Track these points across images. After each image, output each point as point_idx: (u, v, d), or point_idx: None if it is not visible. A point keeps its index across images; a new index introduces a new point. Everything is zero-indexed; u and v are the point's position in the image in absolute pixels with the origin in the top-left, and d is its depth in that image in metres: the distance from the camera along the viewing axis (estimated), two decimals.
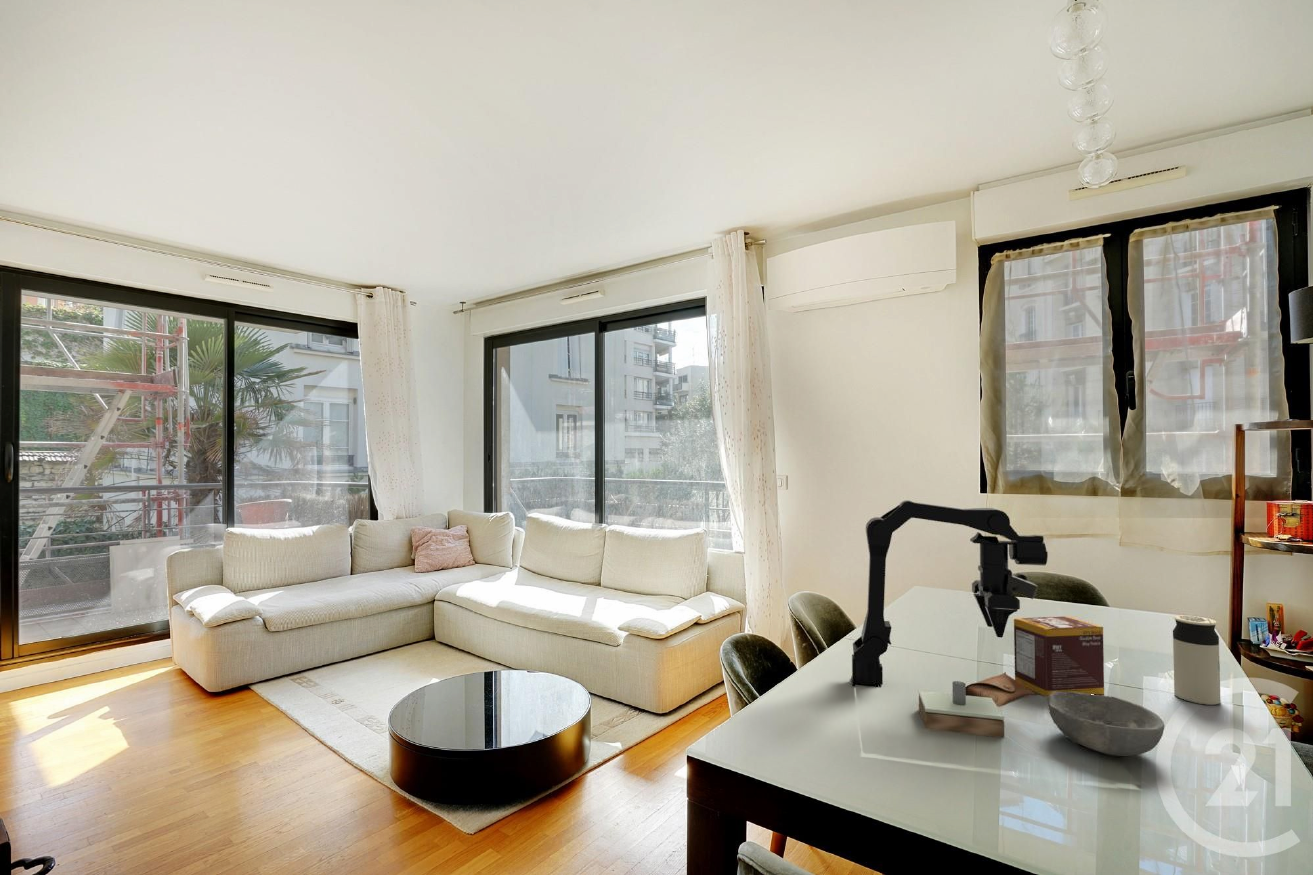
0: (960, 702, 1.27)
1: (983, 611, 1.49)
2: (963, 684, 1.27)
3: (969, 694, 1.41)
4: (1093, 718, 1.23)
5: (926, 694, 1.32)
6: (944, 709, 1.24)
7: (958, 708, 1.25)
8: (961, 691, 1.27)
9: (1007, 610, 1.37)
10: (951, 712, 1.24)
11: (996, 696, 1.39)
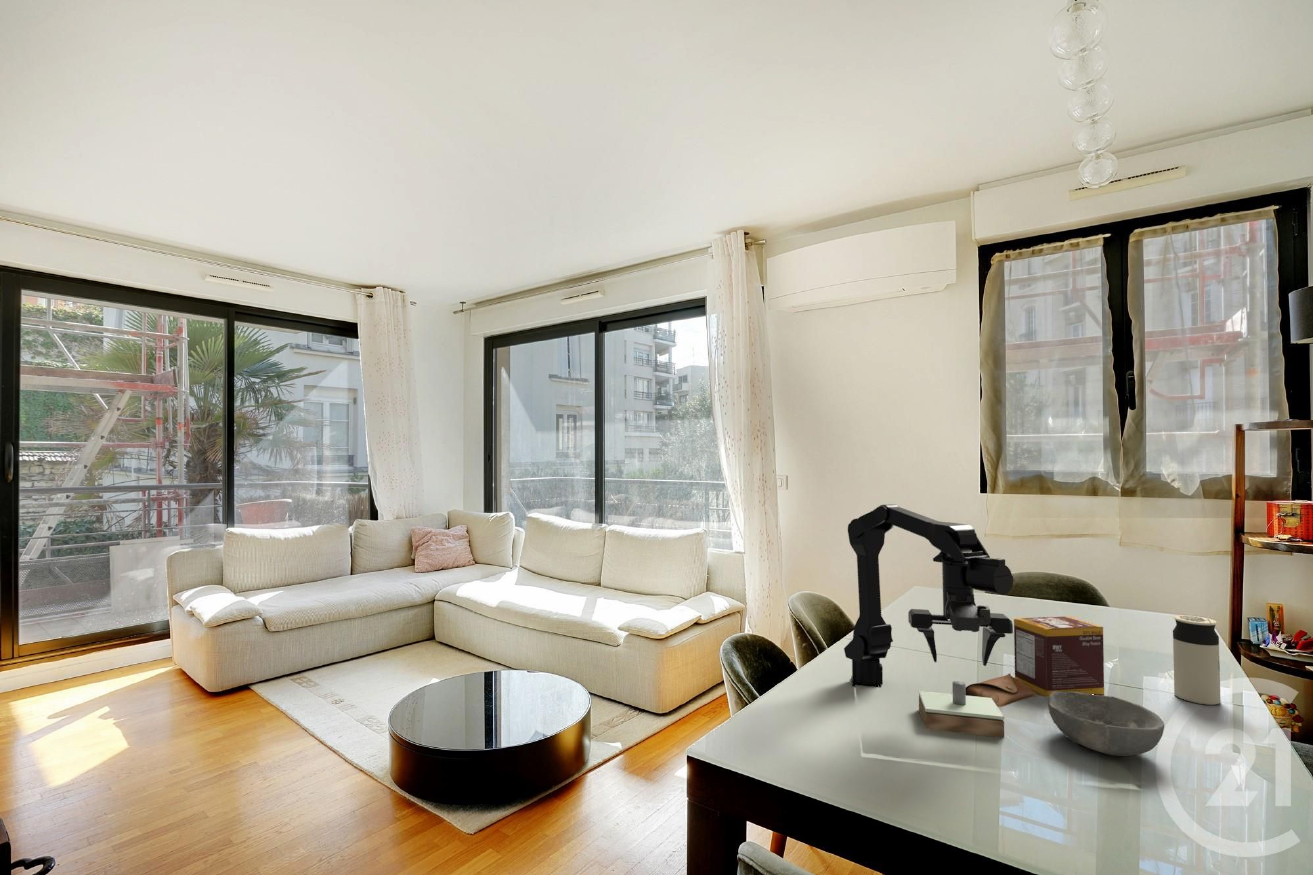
0: (960, 702, 1.27)
1: (982, 646, 1.29)
2: (963, 684, 1.27)
3: (969, 694, 1.41)
4: (1093, 718, 1.23)
5: (926, 694, 1.32)
6: (944, 709, 1.24)
7: (958, 708, 1.25)
8: (961, 691, 1.27)
9: (917, 628, 1.30)
10: (951, 712, 1.24)
11: (997, 696, 1.39)
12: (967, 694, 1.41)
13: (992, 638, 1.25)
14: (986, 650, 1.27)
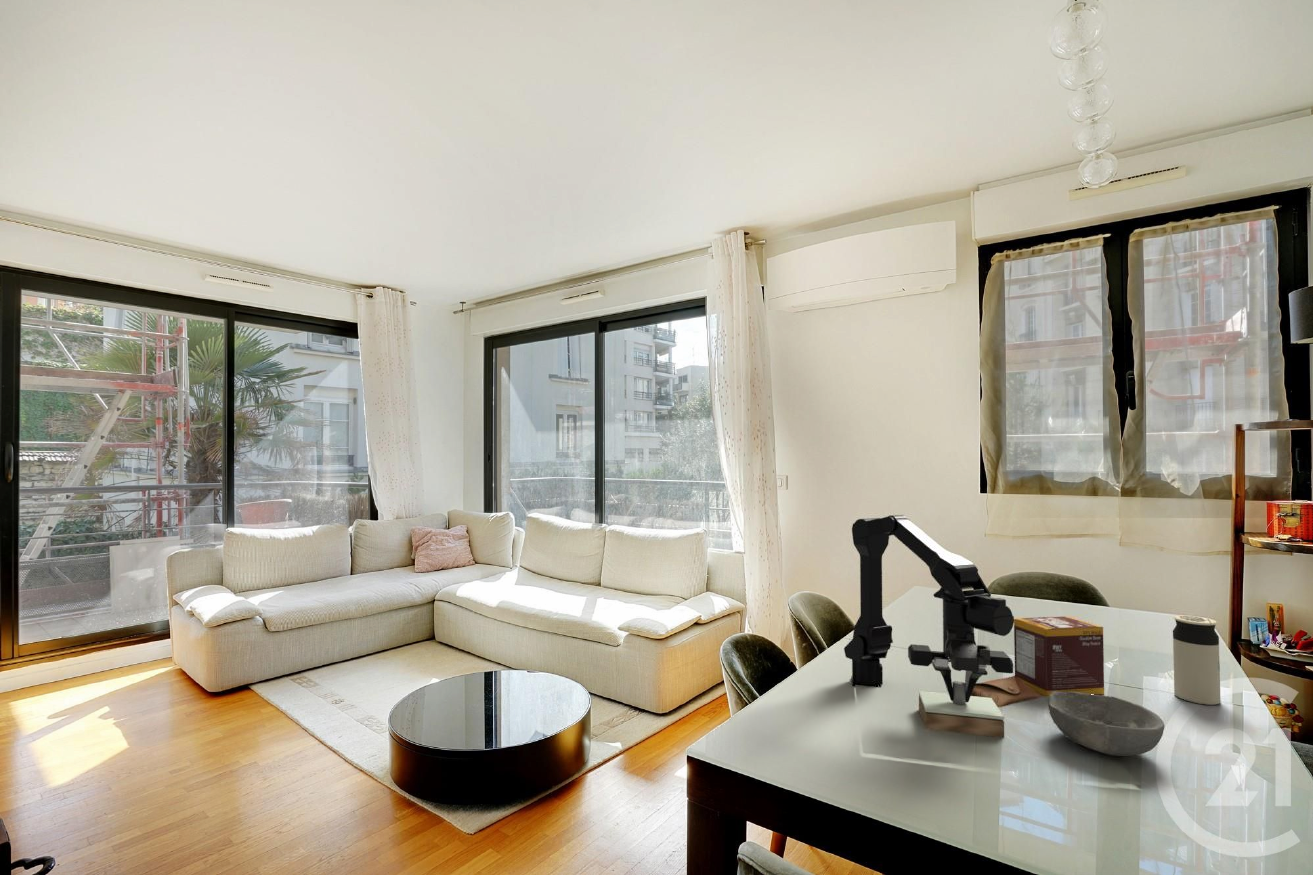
0: (960, 702, 1.27)
1: (965, 682, 1.29)
2: (963, 684, 1.27)
3: None
4: (1093, 718, 1.23)
5: (926, 694, 1.32)
6: (944, 709, 1.24)
7: (958, 708, 1.25)
8: (961, 691, 1.27)
9: (933, 666, 1.29)
10: (951, 712, 1.24)
11: (997, 697, 1.38)
12: None
13: (974, 676, 1.25)
14: (968, 687, 1.27)
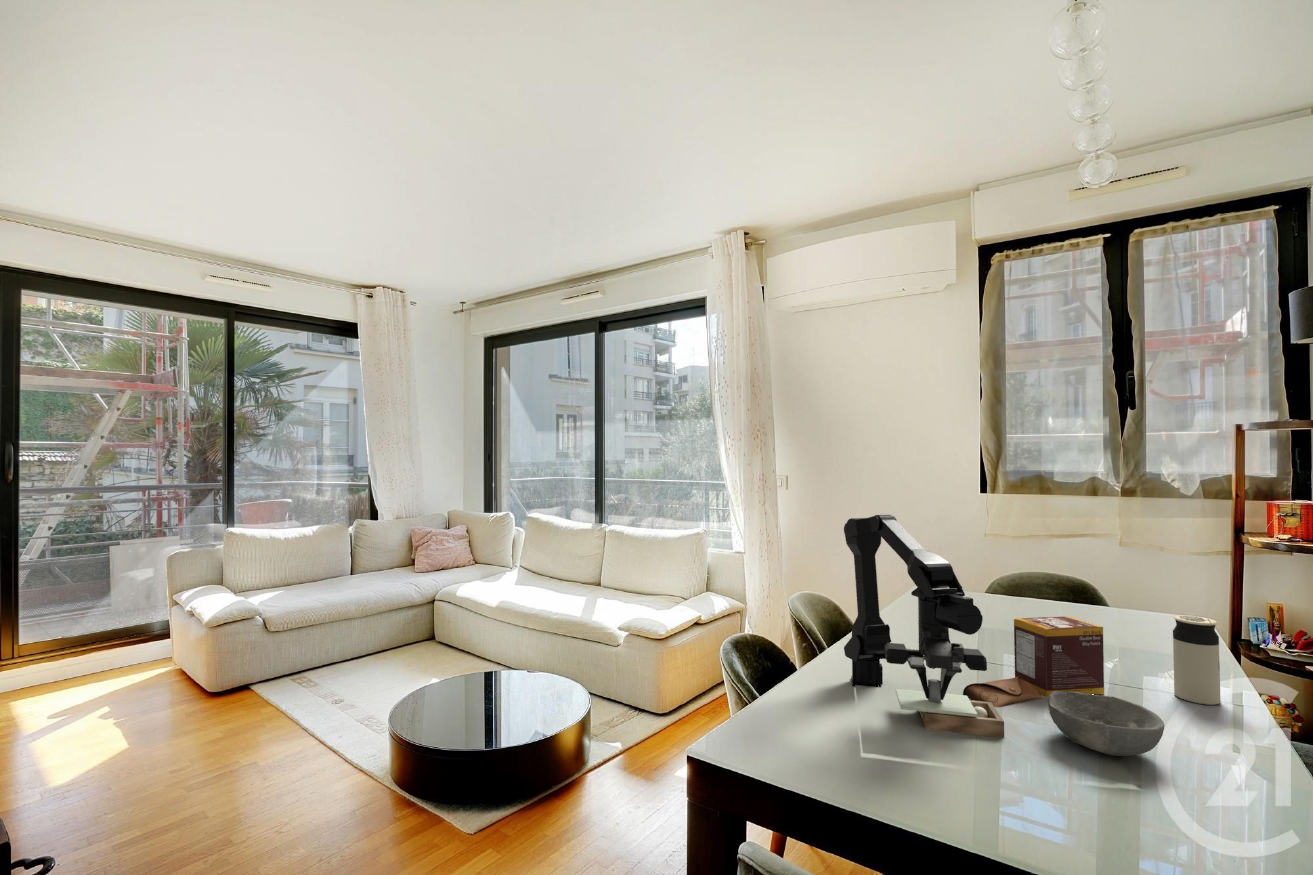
0: (935, 700, 1.28)
1: (940, 679, 1.30)
2: (938, 682, 1.28)
3: (969, 694, 1.41)
4: (1093, 718, 1.23)
5: (902, 692, 1.33)
6: (919, 706, 1.26)
7: (933, 705, 1.26)
8: (936, 689, 1.28)
9: (909, 664, 1.30)
10: (926, 709, 1.25)
11: (997, 697, 1.38)
12: (967, 693, 1.41)
13: (949, 673, 1.27)
14: (943, 685, 1.28)
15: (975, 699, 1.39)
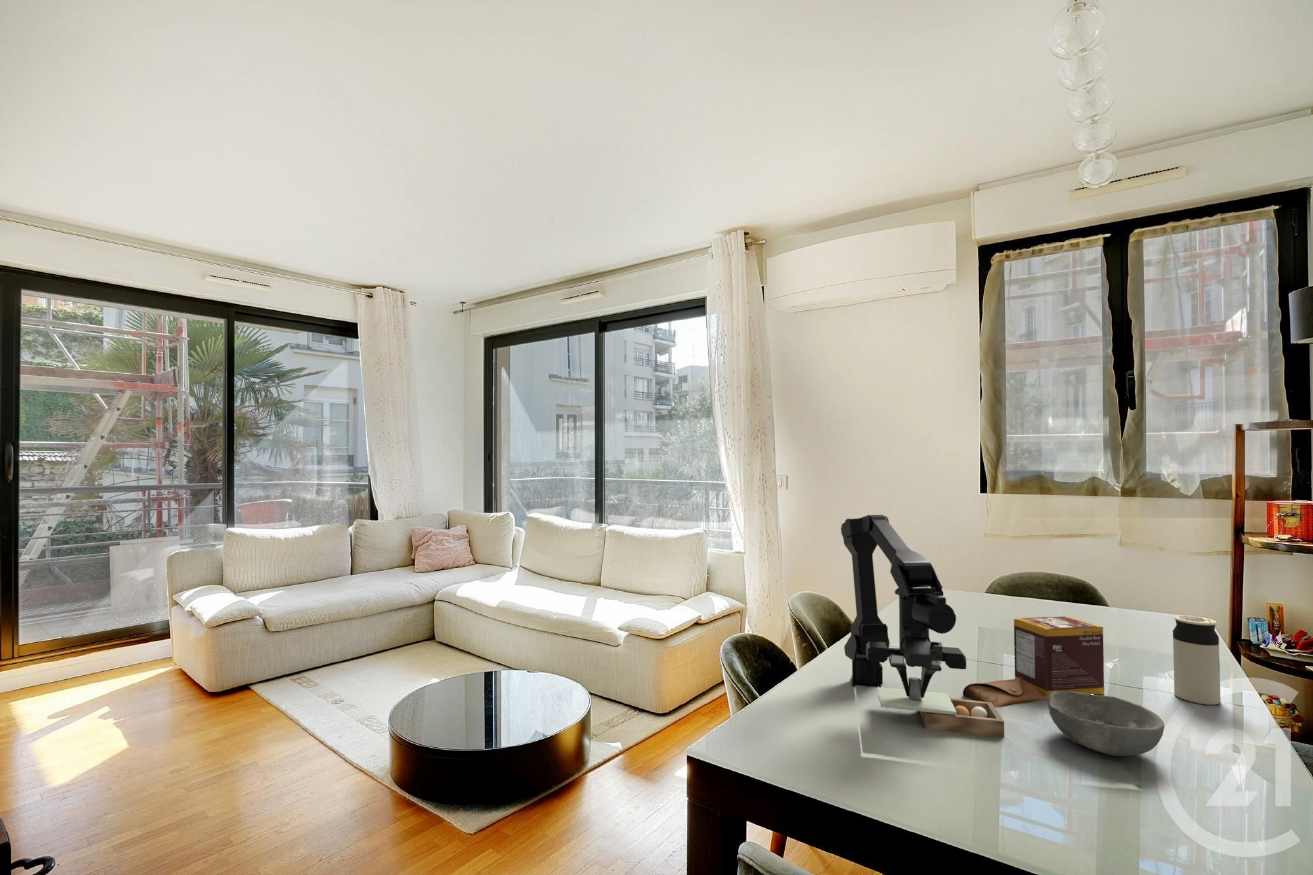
0: (915, 698, 1.29)
1: (921, 678, 1.31)
2: (918, 680, 1.29)
3: (969, 693, 1.41)
4: (1093, 718, 1.23)
5: (884, 690, 1.34)
6: (899, 704, 1.27)
7: (912, 703, 1.27)
8: (916, 687, 1.29)
9: None
10: (905, 707, 1.26)
11: (997, 697, 1.38)
12: (966, 693, 1.41)
13: (929, 672, 1.28)
14: (923, 683, 1.29)
15: (975, 699, 1.40)
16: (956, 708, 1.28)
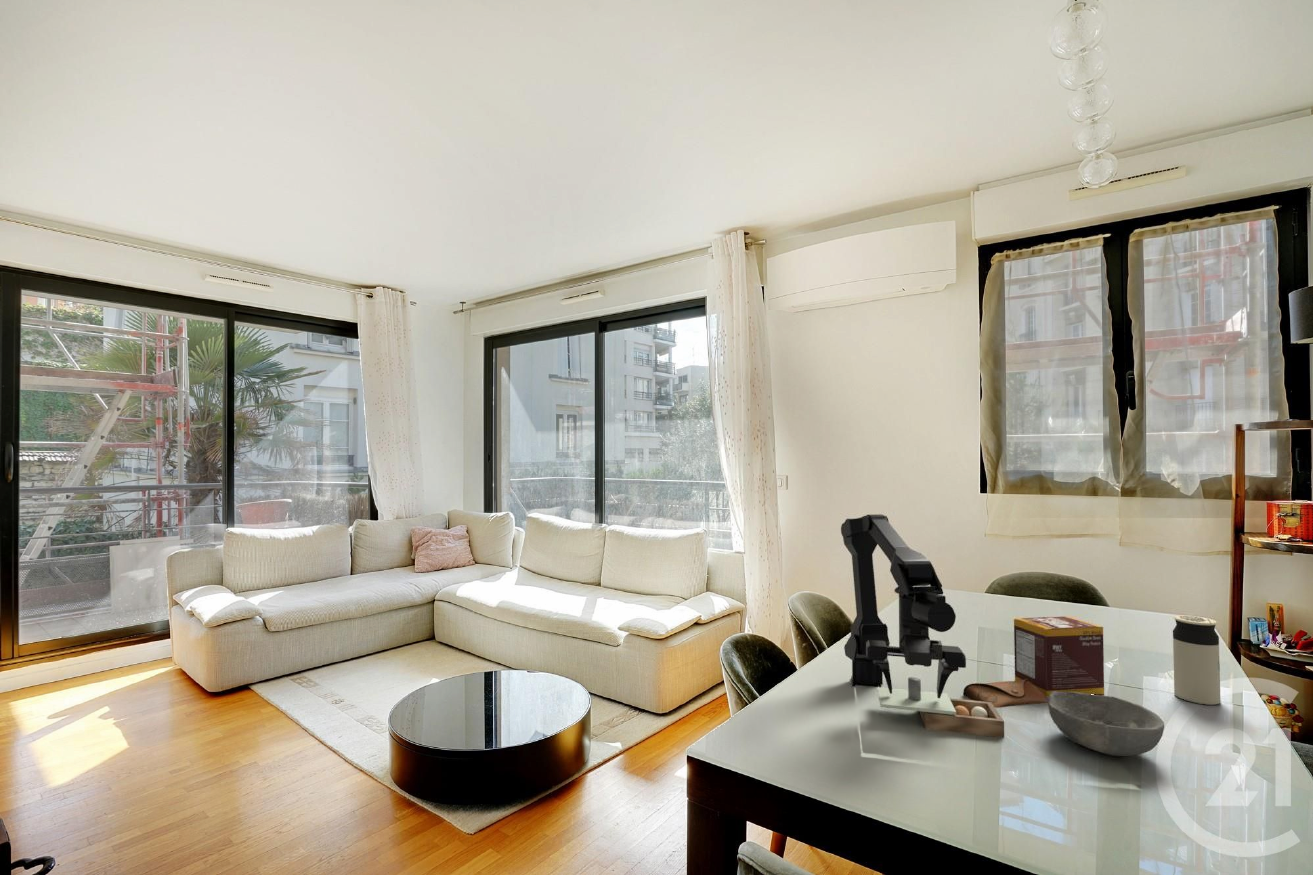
0: (915, 698, 1.29)
1: (937, 678, 1.30)
2: (918, 680, 1.30)
3: (968, 693, 1.41)
4: (1093, 718, 1.23)
5: (883, 690, 1.34)
6: (898, 704, 1.27)
7: (912, 703, 1.27)
8: (916, 687, 1.29)
9: (873, 660, 1.32)
10: (905, 707, 1.26)
11: (996, 698, 1.38)
12: (966, 693, 1.42)
13: (945, 672, 1.27)
14: (940, 683, 1.28)
15: (974, 699, 1.40)
16: (956, 708, 1.28)
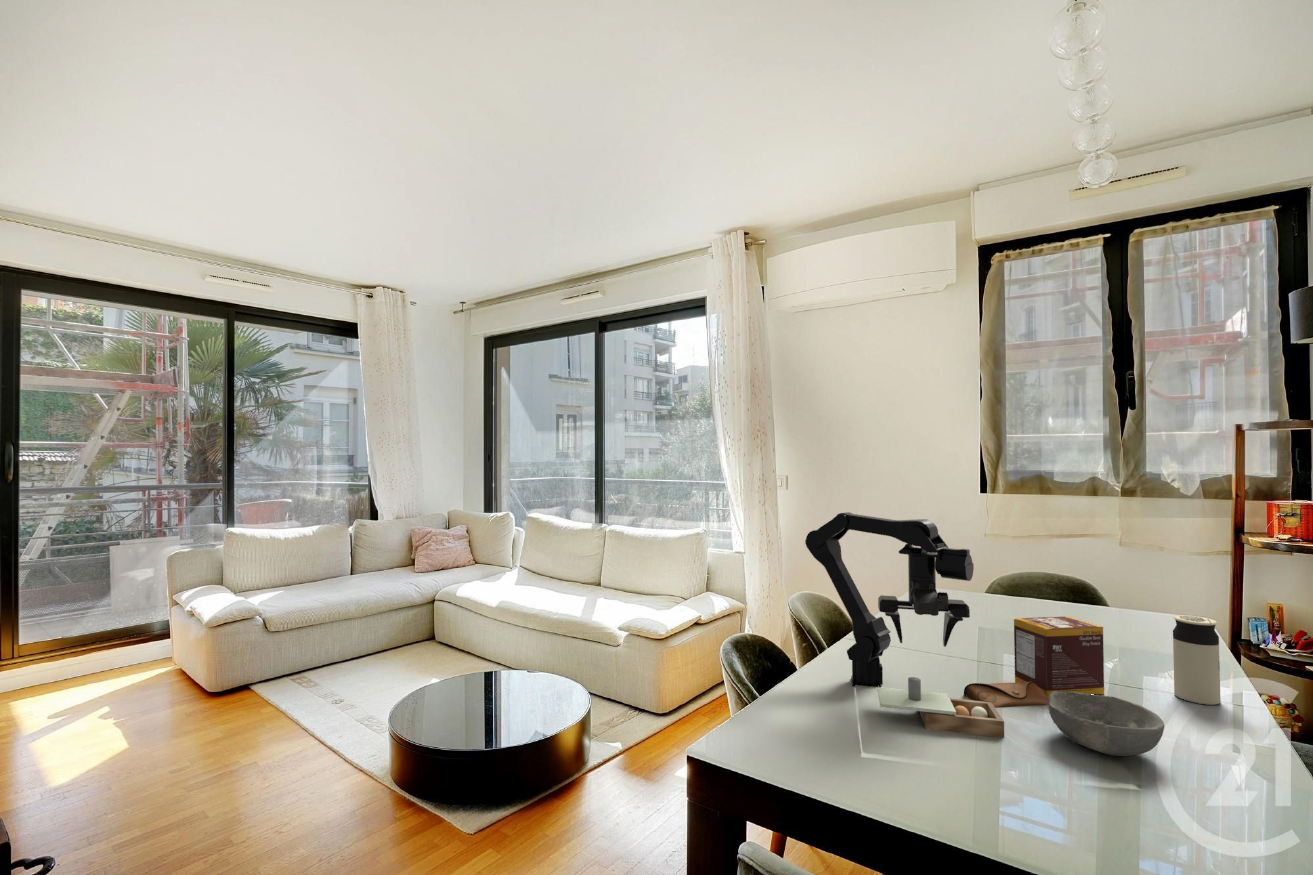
0: (915, 698, 1.29)
1: None
2: (918, 680, 1.30)
3: (968, 693, 1.41)
4: (1093, 718, 1.23)
5: (883, 690, 1.34)
6: (898, 704, 1.27)
7: (912, 703, 1.27)
8: (916, 687, 1.29)
9: (885, 613, 1.44)
10: (905, 707, 1.26)
11: (995, 698, 1.38)
12: (966, 692, 1.42)
13: (951, 622, 1.40)
14: (946, 633, 1.41)
15: (973, 698, 1.40)
16: (956, 708, 1.28)
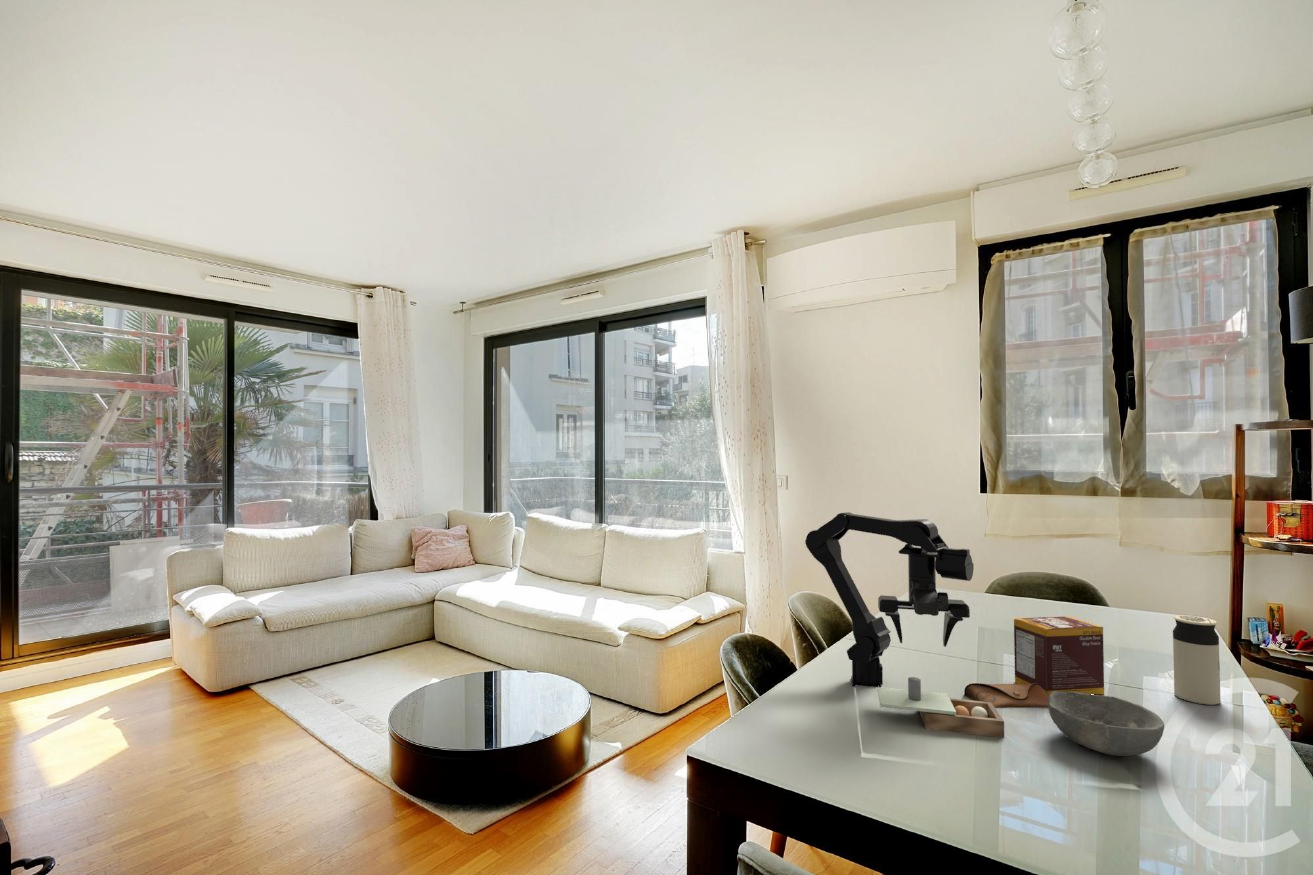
0: (915, 698, 1.29)
1: None
2: (918, 680, 1.30)
3: (968, 692, 1.42)
4: (1093, 718, 1.23)
5: (883, 690, 1.34)
6: (898, 704, 1.27)
7: (912, 703, 1.27)
8: (916, 687, 1.29)
9: (885, 613, 1.44)
10: (905, 707, 1.26)
11: (994, 698, 1.38)
12: (967, 692, 1.42)
13: (951, 622, 1.40)
14: (946, 633, 1.41)
15: (972, 698, 1.40)
16: (956, 708, 1.28)
